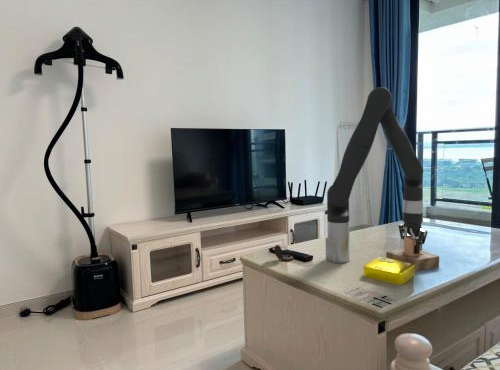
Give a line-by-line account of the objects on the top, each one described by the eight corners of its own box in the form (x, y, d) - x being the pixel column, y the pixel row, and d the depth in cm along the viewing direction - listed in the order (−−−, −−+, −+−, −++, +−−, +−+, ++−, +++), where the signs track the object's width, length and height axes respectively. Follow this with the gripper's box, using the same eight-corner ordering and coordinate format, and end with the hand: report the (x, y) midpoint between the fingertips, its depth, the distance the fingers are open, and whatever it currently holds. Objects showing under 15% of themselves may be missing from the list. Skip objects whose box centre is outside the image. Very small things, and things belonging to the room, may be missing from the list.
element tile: (361, 277, 135) (361, 264, 135) (377, 266, 146) (378, 255, 146) (401, 286, 125) (402, 273, 124) (416, 274, 136) (416, 262, 135)
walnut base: (410, 272, 137) (410, 260, 137) (386, 261, 151) (386, 251, 150) (439, 267, 142) (439, 256, 141) (412, 257, 155) (413, 247, 154)
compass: (296, 260, 156) (295, 244, 156) (280, 263, 153) (280, 246, 152) (287, 255, 164) (286, 240, 163) (271, 258, 160) (271, 242, 160)
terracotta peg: (411, 259, 143) (411, 239, 142) (403, 256, 147) (404, 237, 146) (420, 257, 144) (420, 238, 144) (412, 254, 149) (412, 236, 148)
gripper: (392, 209, 149) (392, 248, 151) (418, 214, 136) (417, 258, 138) (407, 207, 152) (406, 246, 153) (434, 213, 138) (433, 255, 140)
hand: (412, 251), depth 146 cm, fingers closed on terracotta peg, 4 cm apart
